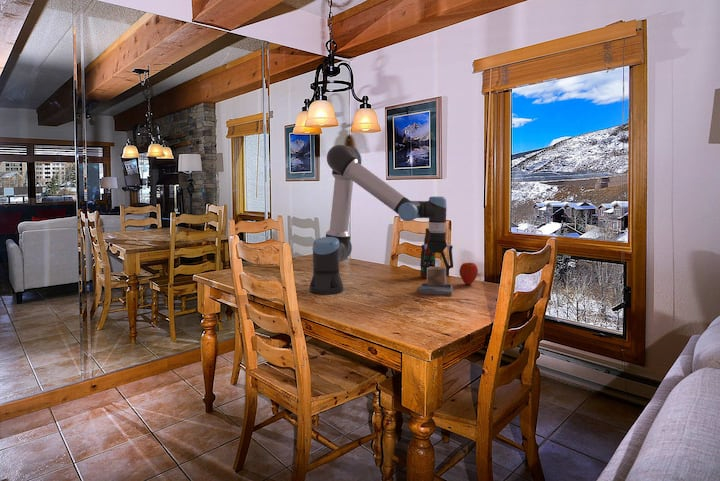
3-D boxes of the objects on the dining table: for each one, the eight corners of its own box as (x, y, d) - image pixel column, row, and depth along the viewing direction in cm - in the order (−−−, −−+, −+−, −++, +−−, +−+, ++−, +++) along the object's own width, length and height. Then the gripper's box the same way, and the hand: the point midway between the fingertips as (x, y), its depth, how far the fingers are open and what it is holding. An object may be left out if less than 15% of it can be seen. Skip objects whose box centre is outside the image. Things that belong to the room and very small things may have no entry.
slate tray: (418, 293, 201) (418, 289, 201) (421, 286, 214) (421, 282, 214) (451, 295, 198) (451, 291, 198) (452, 288, 211) (452, 284, 211)
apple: (466, 287, 213) (466, 264, 211) (455, 283, 221) (455, 261, 219) (481, 285, 216) (482, 262, 215) (469, 281, 224) (470, 260, 223)
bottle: (418, 278, 233) (419, 228, 229) (423, 275, 239) (423, 227, 236) (432, 279, 230) (433, 229, 226) (436, 276, 236) (437, 228, 233)
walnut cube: (427, 284, 203) (428, 269, 202) (429, 281, 210) (429, 266, 209) (444, 285, 201) (444, 269, 201) (444, 282, 208) (445, 266, 207)
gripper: (413, 232, 201) (413, 283, 204) (460, 233, 197) (459, 285, 200) (415, 230, 208) (415, 280, 211) (460, 231, 204) (459, 282, 207)
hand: (436, 282), depth 206 cm, fingers closed on walnut cube, 7 cm apart
